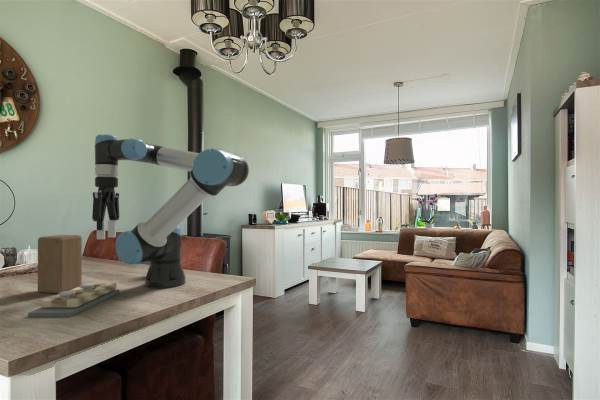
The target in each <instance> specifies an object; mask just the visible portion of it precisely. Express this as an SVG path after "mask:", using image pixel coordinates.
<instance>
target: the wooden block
mask: <svg viewBox="0 0 600 400" xmlns="http://www.w3.org/2000/svg"><path fill="white" fill-rule="evenodd" d="M82 242H83V241H82V235H79V234H58V235H57V234H56V235H48V236H47V235H45V236H40V237H38V238H37V291H38V292H39V293H42V294H43V293H44V294H45V293H46V294H59V293H60V292H64V291H69V290H72V289H74V288H77V287H80V285H82V278H83V277H82V274H83V273H82V271H83V270H82V269H83V268H82V263H83V260H82V259H83V256H82V255H83V254H82V253H83V252H82V251H83V250H82V246H83V243H82Z"/></svg>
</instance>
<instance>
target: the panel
mask: <svg viewBox="0 0 600 400" xmlns="http://www.w3.org/2000/svg"><path fill="white" fill-rule="evenodd" d="M91 283H92V284H93V287H91V288H90V291H84V288H80V287H77V288H74V289H72V290H69V291H73V295H71V296H70V299H69V300H63V297H60V296H59V293H57V294H56V295H54V296H51V297H48V298H44V299H42V300H41V307H78V306H80V305H82V304H84V303H87V302H89V301H91V300H93V299H95V298H97V297H100V296H102V295H104V294H106V293H108V292H110V291H113V290H117V282H91Z"/></svg>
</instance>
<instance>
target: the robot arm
mask: <svg viewBox="0 0 600 400" xmlns="http://www.w3.org/2000/svg"><path fill="white" fill-rule="evenodd" d="M94 141H95V142H94V165H95V167H94V175H95V178H94V186H95V187H96V188H98V190H97V191H95V192H92V198H93V200H92V215H91V216H92V217H91V219H92V221H93V222H96V240H106V220H105V215H106V210H107V215H108V219H109V220H107V238H116V241H115V252H116V255H117V257H118V259H119V260H120V262H122V263H124V264H126V265H139V264H142V263H147V262H149V266H148V269H147V272H146V274H145V277H144V287H146V288H152V289H161V288H163V289H164V288H172V287H179V286H181V285H184V284H186V279H187V278H186V274H185V272H184V269H183V265H182V233H181V232H182V231H181V228H180V225H181V224H182V223H183V222H184V221H186V219H187V218H189V216H190V215H191V214H192V213H193V212H194V211H195V210H197V208H199V206H201V205H202V203H203V202H204V201H206V199H208V198H209V197H216V196H217V195H219V194H220V192H221V191H222V190H224V189H225V188H226V187H236V186H240V185H241V184H243V183H244V182H245V181H246V180H247V178H248V176H249V171H250V170H249V169H250V167H249V164H248V162H247V160H246V159H245V158H244V157H242V156H241V155H239V154H238V153H233V152H230V151H226V150H223V149H221V148H207V149H204V150H202V151H200V152H195V151H188V150H183V149H177V148H172V147H166V146H161V145H157V144H151V143H146V142H144V141H143V140H142V139H140V138H126V139H118V136H116V135H113V134H97V135H95V140H94ZM119 161H133V162H139V163H146V164H152V165H156V166H162V167H168V168H172V169H175V170H176V169H177V170H182V171H186V172H189V176H190V178H188V180H187V181H186V182H185V183H183V184H182V186H181V187H180V188H179V189H178V190H177V191H176V192H174V194H173V195H172V196H171V197H170V198H169V199H168V200H167V201H166V202H165V203H164V204H162V206H161V207H160V208H159V209H158V210H157V211H156V212H155V213H154V214H153V215H151V216H150V218H149V219H148V220H141V221H139V223H137V225H136V226H135V227H134V228H133V229H131V230H126V231H124V232H120V233H119V234H118V236H117V234H116V233H117V231H116V230H117V228H116V226H117V221H118V220H120V203H119V202H120V201H119V199H120V193H119V192H116V191H115V188H118V187H119V178H118V176H119ZM104 220H105V221H104Z"/></svg>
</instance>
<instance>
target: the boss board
mask: <svg viewBox="0 0 600 400" xmlns="http://www.w3.org/2000/svg"><path fill="white" fill-rule="evenodd" d="M92 283H93V282H88V283H83V284H82V285H80V288H84V291H90V288H91V287H93V284H92ZM58 294H59V296H60V297H63V300H69V299H70V296H71V295H73V291H64V292H60V293H58ZM118 294H120V289H115V290H113V291H110V292H108V293H106V294H104V295H102V296H100V297H97V298H95V299H93V300H91V301H89V302H87V303H84V304H82V305H80V306H78V307H42V306H41V307H39V308H37V309H34V310H31V311H29V312H28V313H27V317H28V318H71V317H73V316H75V315H78V314H79V313H81V312H83V311H86V310H87V309H90V308H91V307H94V306H96V305H97V304H99V303H102V302H103V301H106V300H107V299H110V298H112V297H114V296H117V295H118Z"/></svg>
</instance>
